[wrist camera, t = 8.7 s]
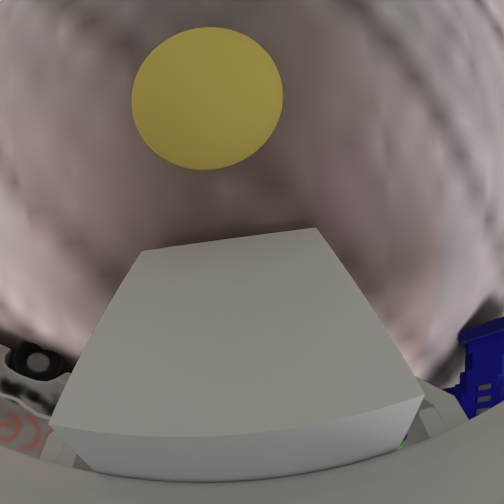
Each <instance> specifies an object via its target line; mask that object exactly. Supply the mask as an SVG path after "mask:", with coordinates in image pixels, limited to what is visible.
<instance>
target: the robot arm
mask: <svg viewBox="0 0 504 504" xmlns="http://www.w3.org/2000/svg"><path fill="white" fill-rule="evenodd" d="M415 378H416V379H417V381H418V383H419V384H420V386H421V388H422V390H423V391H424V393H425V395H424V398H423V400H422V402H421V404H420V406H419V409H418V411H417V413H416V415H415V417H414V419H413V421H412V423H411V425H410V427H409V429H408V431H407V434H408V436H407V438H406V440H405V441H404V443H403V445H402V447H401V449H400V450H397V451H394V452H391V453H388V454H385V455H382V456H379V457H375V458H372V459H368V460H365V461H361V462H358V463H354V464H350V465H346V466H342V467H337V468H333V469H328V470H323V471H318V472H313V473H308V474H302V475H296V476H289V477H282V478H274V479H264V480H254V481H240V482H217V483H189V482H166V481H153V480H142V479H134V478H126V477H119V476H112V475H106V474H101V473H97V472H96V471H94V470H93V469H92V468H91V467H90V466H89V465H88V464H87V463H86V462H85V461H84V460H82V459H81V458H80V457H79V456H78V455H77V454H76V453H75V452H74V451H73V450H72V449H71V448H70V447H69V446H68V445H67V444H66V443H65V442H64V441H63V440H62V438H61V437H60V436H59V435H58V434H57V433H56V432H55V431H53V432H52V433H50V434H49V436H48V438H47V441H46V443H45V446H44V448H43V451H42V453H41V456H40V459H39V458H36V457H33V456H30V455H27V454H24V453H21V452H18V451H16V450H13V449H10V448H8V447H5V446H3V445H0V504H504V401H502V402H501V403H499V404H497V405H496V406H494V407H492V408H490V409H489V410H487V411H485V412H483V413H481V414H479V415H478V416H476V417H474V418H472V419H470V420H469V419H468V418H467V416H466V414H465V413H464V411H463V409H462V408H461V406H460V404H459V403H458V401H457V399H456V398H455V396H453V395H451V394H449V393H447V392H445V391H443V390H441V389H439V388H437V387H435V386H433V385H431V384H429V383H427V382H425V381H423V380H422V379H420V378H418V377H416V376H415Z"/></svg>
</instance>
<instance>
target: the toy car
mask: <svg viewBox="0 0 504 504" xmlns="http://www.w3.org/2000/svg"><path fill="white" fill-rule="evenodd" d="M65 370H66V366H65V362H64V359H63V357H62V356H60V355H58V354H57V353H55V352H53V351H49V350H44V349H43V348H41V347H39V346H38V345H37V344H34V343H30V342H27V341H24V342H22V343H21V344H20V345H19V346H18V348H17V349H16V351H15V353H14V356H13V353H12V351H11V349H10V348H7V347H5V346H3V345H1V344H0V445H3V446H5V447H8V448H10V449H13V450H16V451H18V452H21V453H24V454H27V455H30V456H33V457H36V458H39V459H40V456H41V453H42V451H43V448H44V446H45V443H46V441H47V438H48V436H49V434H50V433H52V432H53V431H54V430H53V429H52V428H51V426H50V425H49V424H48V423H49V421H50V418H51V416H52V414H53V411H54V409H55V407H56V405H57V403H58V400H59V398H60V396H61V394H62V392H63V390H64V388H65V386H66V383H67V381H68V379H69V377H70V375H71V373H69V372H67V373H65Z"/></svg>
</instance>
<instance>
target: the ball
mask: <svg viewBox="0 0 504 504" xmlns="http://www.w3.org/2000/svg"><path fill="white" fill-rule="evenodd" d="M131 105H132V114H133V118H134V122H135V125H136V127H137V130H138V132H139V133H140V135H141V137H142V138H143V140H144V141H145V143H146V144H147V145H148V146H149V147H150V148H151V149H152V150H153V151H154V152H155V153H157V154H158V155H159V156H160V157H162V158H164V159H165V160H167V161H169V162H171V163H173V164H176V165H178V166H181V167H185V168H189V169H196V170H212V169H219V168H224V167H228V166H231V165H233V164H236V163H238V162H240V161H242V160H244V159H246V158H247V157H249V156H251V155H252V154H253V153H255V152H256V151H257V150H258V149H259V148H260V147H261V146H262V145H263V144H264V143H265V142H266V141H267V140H268V138H269V137H270V136H271V134H272V133H273V131H274V129H275V127H276V125H277V123H278V120H279V118H280V115H281V110H282V105H283V87H282V82H281V77H280V75H279V72H278V69H277V67H276V65H275V63H274V61H273V60H272V58H271V57H270V56H269V54H268V53H267V52H266V51H265V50H264V49H263V48H262V47H261V46H260V45H259V44H258V43H257V42H255V41H254V40H253V39H251V38H249V37H247V36H246V35H244V34H241V33H239V32H236V31H233V30H229V29H225V28H218V27H202V28H194V29H190V30H186V31H183V32H181V33H178V34H176V35H174V36H172V37H170V38H168V39H167V40H165V41H164V42H162V43H161V44H159V45H158V46H157V47H156V48H155V49H154V50H153V51H152V52H151V53H150V54H149V55H148V56H147V58H146V59H145V60H144V62H143V63H142V65H141V67H140V69H139V71H138V73H137V75H136V78H135V80H134V84H133V89H132V96H131Z"/></svg>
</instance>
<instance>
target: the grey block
mask: <svg viewBox="0 0 504 504" xmlns="http://www.w3.org/2000/svg"><path fill="white" fill-rule="evenodd" d="M424 395H425V393H424V391H423V390H422V388H421V386H420V384H419V383H418V381H417V379H416V378H415V376H414V374H413V373H412V371H411V369H410V367H409V366H408V364H407V362H406V361H405V359H404V358H403V356H402V354H401V353H400V351H399V349H398V348H397V346H396V344H395V343H394V341H393V340H392V338H391V336H390V335H389V333H388V332H387V330H386V329H385V327H384V325H383V324H382V322H381V321H380V319H379V318H378V316H377V315H376V313H375V312H374V310H373V308H372V307H371V305H370V304H369V302H368V301H367V299H366V298H365V296H364V295H363V293H362V292H361V290H360V289H359V288H358V286H357V285H356V283H355V282H354V280H353V279H352V277H351V276H350V274H349V273H348V271H347V270H346V269H345V267H344V266H343V264H342V263H341V261H340V260H339V259H338V257H337V256H336V254H335V253H334V252H333V250H332V249H331V247H330V246H329V245H328V243H327V242H326V240H325V239H324V238H323V236H322V235H321V234H320V232H319V231H318V229H317V228H308V229H300V230H292V231H284V232H277V233H269V234H261V235H253V236H246V237H238V238H231V239H223V240H216V241H209V242H202V243H194V244H187V245H180V246H173V247H166V248H159V249H152V250H145V251H141V253H140V255H139V256H138V258H137V259H136V261H135V262H134V264H133V265H132V267H131V269H130V270H129V272H128V273H127V275H126V277H125V278H124V280H123V282H122V283H121V285H120V286H119V288H118V290H117V291H116V293H115V295H114V296H113V298H112V300H111V301H110V303H109V305H108V307H107V308H106V310H105V312H104V314H103V315H102V317H101V319H100V321H99V322H98V324H97V326H96V328H95V330H94V331H93V333H92V335H91V337H90V339H89V341H88V342H87V344H86V346H85V348H84V350H83V352H82V354H81V356H80V358H79V359H78V361H77V363H76V365H75V367H74V369H73V371H72V373H71V375H70V377H69V379H68V381H67V383H66V386H65V388H64V390H63V392H62V394H61V396H60V398H59V400H58V403H57V405H56V407H55V409H54V411H53V414H52V416H51V418H50V421H49V423H48V424H49V425H50V426H51V428H52V429H53V430H54V431H55V432H56V433H57V434H58V435H59V436H60V437H61V438H62V440H63V441H64V442H65V443H66V444H67V445H68V446H69V447H70V448H71V449H72V450H73V451H74V452H75V453H76V454H77V455H78V456H79V457H80V458H81V459H82V460H84V461H85V462H86V463H87V464H88V465H89V466H90V467H91V468H92V469H93V470H94V471H96V472H97V473H101V474H106V475H112V476H119V477H126V478H134V479H142V480H153V481H166V482H189V483H217V482H240V481H254V480H264V479H274V478H282V477H289V476H296V475H302V474H308V473H313V472H318V471H323V470H328V469H333V468H337V467H342V466H346V465H350V464H354V463H358V462H361V461H365V460H368V459H372V458H375V457H379V456H382V455H385V454H388V453H391V452H394V451H397V450H398V448H399V446H400V444H401V443H402V441H403V439H404V437H405V435H406V433H407V431H408V429H409V427H410V425H411V423H412V421H413V419H414V417H415V415H416V413H417V411H418V409H419V406H420V404H421V402H422V400H423V398H424Z"/></svg>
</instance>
